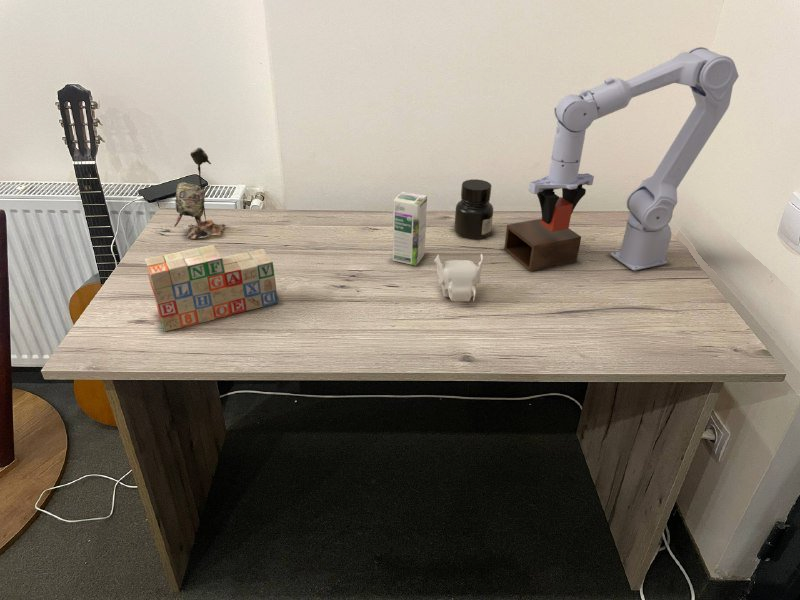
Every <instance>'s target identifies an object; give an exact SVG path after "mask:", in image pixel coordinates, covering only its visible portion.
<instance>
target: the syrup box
mask: <svg viewBox="0 0 800 600" xmlns="http://www.w3.org/2000/svg"><path fill="white" fill-rule="evenodd" d="M392 207H393V209H392V212H393V213H392V220H393V221H392V223H393V224H392V262H398V263H401V264H406V265H412V266H417V265H418V264H419V263H420V261H421V260H422V258H423V257H424V256H425V253H426V251H425V250H426V229H427V211H428V209H427V207H428V195H425V194H417V193H412V192H407V191H401V192H400V193H399V194H398V195H397V196H396V197H395V198H394V199H393V206H392Z"/></svg>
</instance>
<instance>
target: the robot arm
mask: <svg viewBox="0 0 800 600" xmlns="http://www.w3.org/2000/svg"><path fill="white" fill-rule="evenodd" d="M739 76H740V75H739V73H738V70H737V67H736V63H735V61H734V59H732V58H731V57H730V56H727V55H724V54H723V55H722V54H719V53H717V52H714V51H712V50H710V49H708V48H706V47H703V46H698V47H694V48H692V49H690V50H689V51H683V52H680V53H678V54H677V55H676V56H674V57H673V58H671V59H669V60H666V61H665V62H662V63H660V64H658V65H657V66H654V67H652V68H650V69H649V70H645V71H643V72H642V73H640V74H638V75H636V76H634V77H631V78H629V79H628V80H624V79H622V78H620V77H619V78H618V77H616V78H612V77H608V78H605V79H604V80H603V81H604V83H601V84H599V85H596V86H594V87H592V88H590V89H585V88H584V89H581V90H580V91H579V94H574V93H572V94H567V95H565V96H563V97H562V98H560V101H558V103H557V105H556V106H555V107H554V109H553V110H554V116H555V118H556V120H557V122H556V129H555V134H554V139H553V144H552V145H553V146H552V150H551V156H550V157H551V158H550V163H549V170H548V175H547V176H545V177H542V178H539V179H537V180H533V181H530V182H529V185H528V192H530V193H531V194H533V195H536V196H537V198H538V202H539V205H540V212H541V219H542V221H544V222H545V223H547V224H550V222H551V220H552V216H553V211H554V208H555V205H556V203H557V201H558V199H559V197H560V196H558V194H556V192H555V190H561V191H562V193H561V195H562V196H561V197H562V198H564V199H565V200H567V201H568V202H570V203H572V204H573V207H572V213H571V215H572V214H573V212H574V210H575V208H576V206H577V205H578V203H579V202H580V201H581V199H582V198H583V197H584V196H585V195H586V191H587V190H586V188H584V187H583V186H585V185H587V186H592V185H594V179H595V176H594V175H592V174H591V173H588V172H586V173H579V171H580V166H581V159H582V155H583V148H584V143H585V137H586V131H587V130H588V128H590V127H591V125H592V124H593V122H594V121H596V120H599V119H601V118H604V117H606V116H609V115H610V114H613V113H615V112H618V111H621V110H622V109H625V108H627V107H628V105H629V104H630V102H631V100H632V99H633V98H636V97H639V96H642V95H644V94H647V93H650V92H653V91H656V90H658V89H661V88H664V87H666V86H670V85H672V84H678V85H683V86H687V87H688V86H689V88H690V89H691V93H692V96H693V99H694V102H695V105H694V107H693V109H692V111H690V114H689V116H688V117H687V118H686V120H685V121H684V124H683V125H682V127H681V128H680V130H679V131H678V133H677V135H676V136H675V138H674V140H673V141H672V143H671V145H670V146H669V148H668V150H667V151H666V152H665V155H664V156H663V158H662V160H661V161H660V164H659V165H658V166H657V168H656V170H655V171H654V173H653V175H652V176H649V177H647V178H645V179H643V180H642V181H641V183H640V184H639V185H638V186H637V188H635V189H634V190H632V192H631V193H629V195H628V197H627V198H626V199H627V200H626V208H627V210H628V211H629V213H628V217H627V222H626V225H625V230H624V234H623V238H622V242H621V247H620V250H619V251H615V252H611V253H610V256H611V257H612V258H614V259H616V260H617V261H618V262H620V263H621V264H623V265H624V266H626V267H627V268H629V269H630V270H632V271H640V270H644V269H649V268H653V267H658V266H662V265H667V264H668V261H667V260H666V257H667V254H668V251H669V250H668V249H669V247H670V244H671V243H670V242H671V239H672V229H671V227H670V225H669V224H670V223H671V221H672V218H673V213H674V210H675V207H676V206H677V204H678V187H679V186H680V184H681V183H682V181H683V180H684V178H685V176H686V175H687V173H688V172H689V171H690V169H691V167H692V165H693V164H694V162H695V161H696V159H697V158H698V156H699V155H700V154H701V152H702V150H703V148H704V146H705V145H706V144H707V142H708V140H709V139H710V137H711V136H712V134H713V133H714V131H715V129H716V128H717V127H718V125H719V123H720V122H721V120H722V119H723V117H724V116H725V114H726V112H727V111H728V109H729V107H730V104H731V98H732V93H733V88H734V85H735V83H736V81H738V78H739Z"/></svg>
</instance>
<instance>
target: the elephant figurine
mask: <svg viewBox="0 0 800 600" xmlns="http://www.w3.org/2000/svg"><path fill="white" fill-rule="evenodd" d="M440 259H441V258H440V254H439V253H438V254H436V257H435V258H434V260H433V262H434V263H435V264H436V274H437V277H438V284H439V285H441V291H442V296H443V297H444V298H450V301H451V302H471V298H473V301H472V302H475V299H476V293H477V284H478V285H480V284H481V272H482V266H483V260H484V256H483V253H481V254H480V261H479V262H478V264H475V263H474V262H473V261H472V260H468V259H453V260H452V259H451V260H450V259H449V260H446V261H444V262H443V263H442V261H441V260H440Z"/></svg>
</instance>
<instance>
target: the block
mask: <svg viewBox="0 0 800 600" xmlns="http://www.w3.org/2000/svg"><path fill="white" fill-rule="evenodd" d="M572 207H573V204H572V203H570V202H568V201H567V200H565V199H564V198H562V196H559V199H558V201H557V203H556V205H555V208H554V211H553V216H552V220H551V222H550V224H547V223H545V222H544V221H542V220H541V224H542V225H543V226H545V227H546V228H548V229H549V230H550V231H552V232H554V231H559V230H564V229H570V223H571V218H572V214H573V212H572ZM571 213H572V214H571Z"/></svg>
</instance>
